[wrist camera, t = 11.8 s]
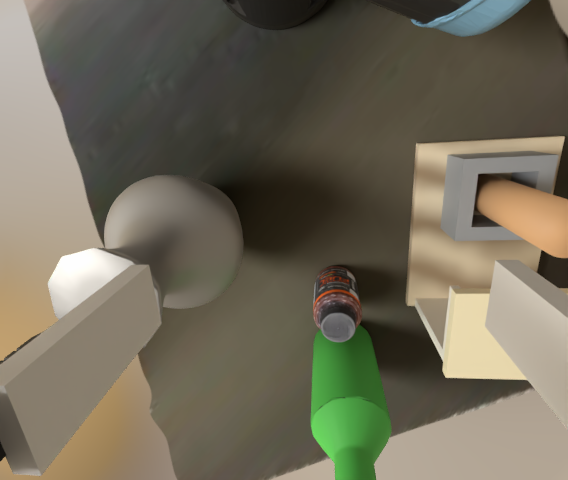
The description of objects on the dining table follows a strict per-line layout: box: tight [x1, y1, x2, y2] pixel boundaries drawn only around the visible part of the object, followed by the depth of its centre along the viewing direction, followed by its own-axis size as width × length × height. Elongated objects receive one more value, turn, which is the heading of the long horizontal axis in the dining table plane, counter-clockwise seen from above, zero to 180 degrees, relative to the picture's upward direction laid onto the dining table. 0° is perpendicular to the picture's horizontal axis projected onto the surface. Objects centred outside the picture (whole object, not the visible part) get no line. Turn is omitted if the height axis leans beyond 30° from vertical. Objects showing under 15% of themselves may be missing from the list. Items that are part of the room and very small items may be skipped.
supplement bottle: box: [313, 266, 362, 342], centre depth 43 cm, size 6×6×11 cm
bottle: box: [311, 325, 391, 480], centre depth 40 cm, size 9×9×25 cm
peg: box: [474, 173, 568, 258], centre depth 34 cm, size 4×4×16 cm
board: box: [405, 136, 565, 306], centre depth 43 cm, size 22×16×1 cm
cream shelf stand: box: [415, 286, 568, 380], centre depth 38 cm, size 10×15×14 cm, turn 93°
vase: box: [48, 175, 243, 348], centre depth 35 cm, size 14×14×25 cm
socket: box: [440, 151, 559, 241], centre depth 39 cm, size 9×9×5 cm
